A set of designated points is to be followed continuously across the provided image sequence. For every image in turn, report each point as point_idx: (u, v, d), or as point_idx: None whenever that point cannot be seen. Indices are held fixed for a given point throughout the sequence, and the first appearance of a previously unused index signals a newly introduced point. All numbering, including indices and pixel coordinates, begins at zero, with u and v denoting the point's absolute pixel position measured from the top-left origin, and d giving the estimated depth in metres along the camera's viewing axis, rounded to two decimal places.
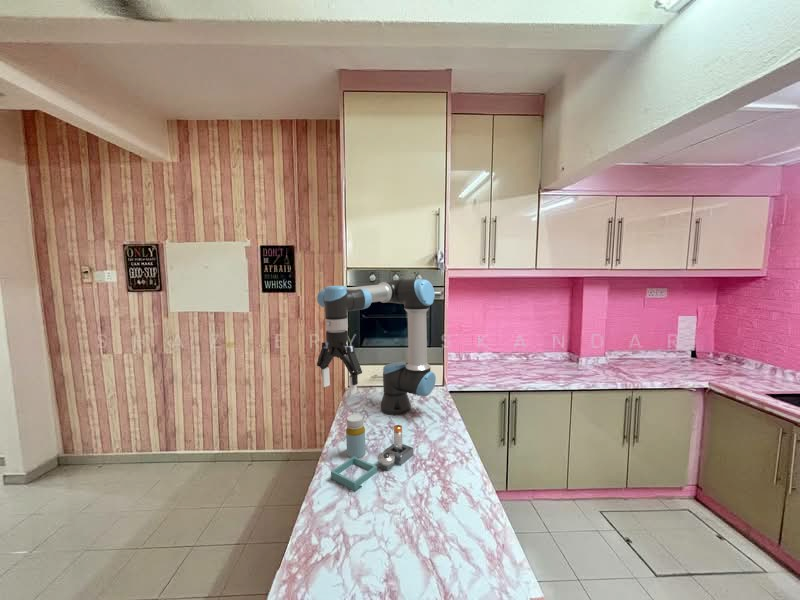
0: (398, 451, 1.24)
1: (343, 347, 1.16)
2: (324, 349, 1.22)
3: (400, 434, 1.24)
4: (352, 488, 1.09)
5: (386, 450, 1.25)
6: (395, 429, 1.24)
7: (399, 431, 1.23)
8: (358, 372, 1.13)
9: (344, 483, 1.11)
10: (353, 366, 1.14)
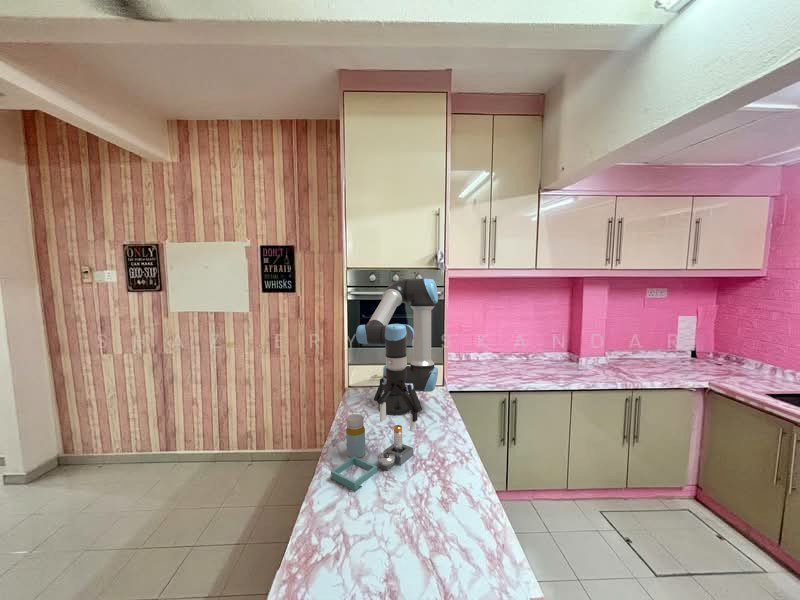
0: (398, 451, 1.24)
1: (403, 384, 1.20)
2: (382, 385, 1.26)
3: (400, 434, 1.24)
4: (352, 488, 1.09)
5: (386, 450, 1.25)
6: (395, 429, 1.24)
7: (399, 431, 1.23)
8: (419, 409, 1.17)
9: (344, 483, 1.11)
10: (414, 404, 1.17)
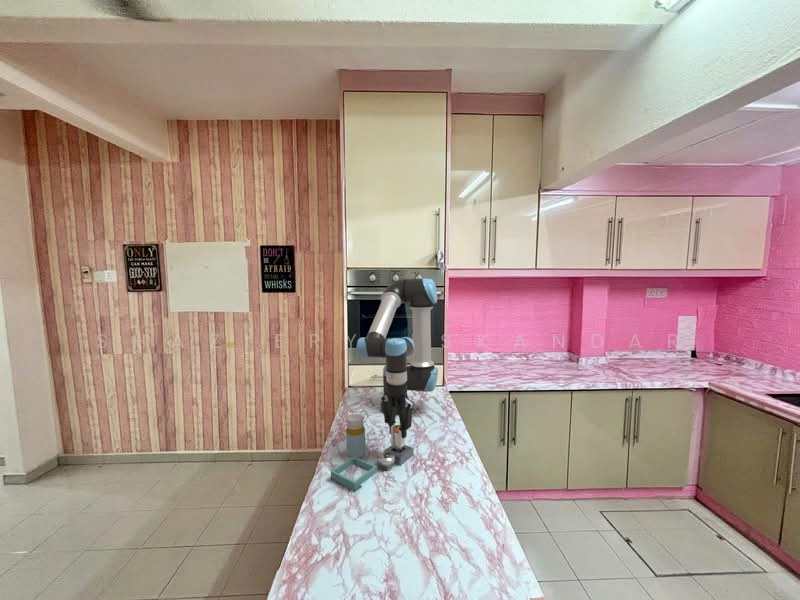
0: (398, 451, 1.24)
1: (404, 400, 1.21)
2: (385, 402, 1.26)
3: None
4: (352, 488, 1.09)
5: (386, 450, 1.25)
6: (395, 429, 1.24)
7: None
8: (408, 427, 1.21)
9: (344, 483, 1.11)
10: (406, 421, 1.20)
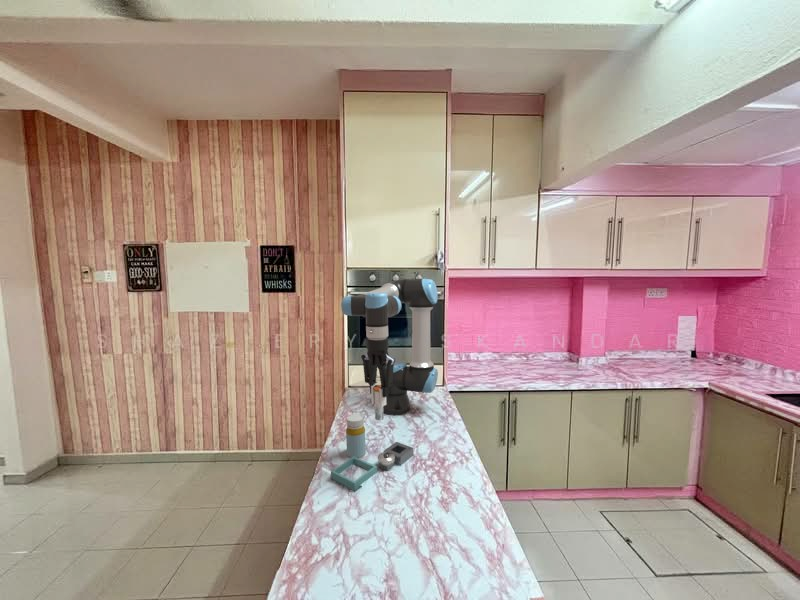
0: (379, 411, 1.18)
1: (385, 356, 1.14)
2: (366, 361, 1.20)
3: None
4: (352, 488, 1.09)
5: (386, 450, 1.25)
6: (376, 388, 1.17)
7: None
8: (389, 384, 1.15)
9: (344, 483, 1.11)
10: (387, 378, 1.14)
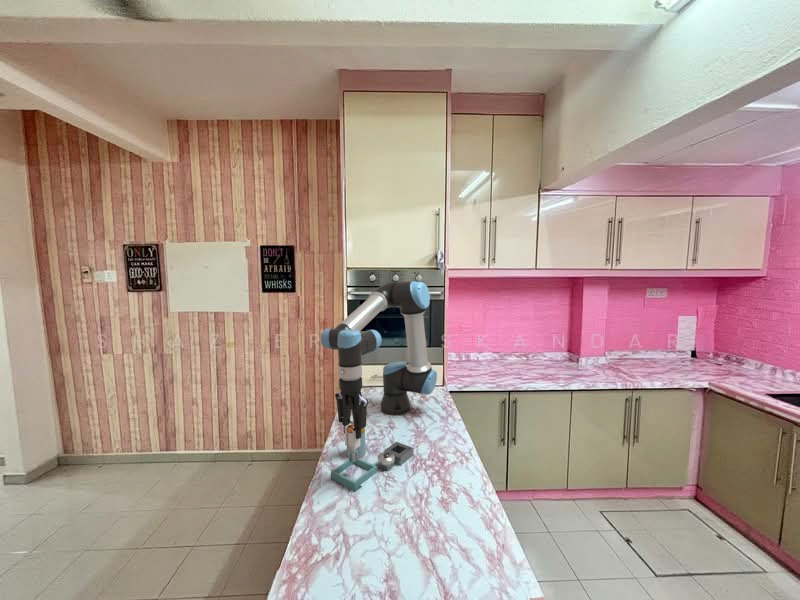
0: (352, 453, 1.13)
1: (357, 397, 1.10)
2: (339, 400, 1.15)
3: None
4: (352, 488, 1.09)
5: (386, 450, 1.25)
6: (349, 429, 1.13)
7: None
8: (362, 426, 1.10)
9: (344, 483, 1.11)
10: (360, 420, 1.10)
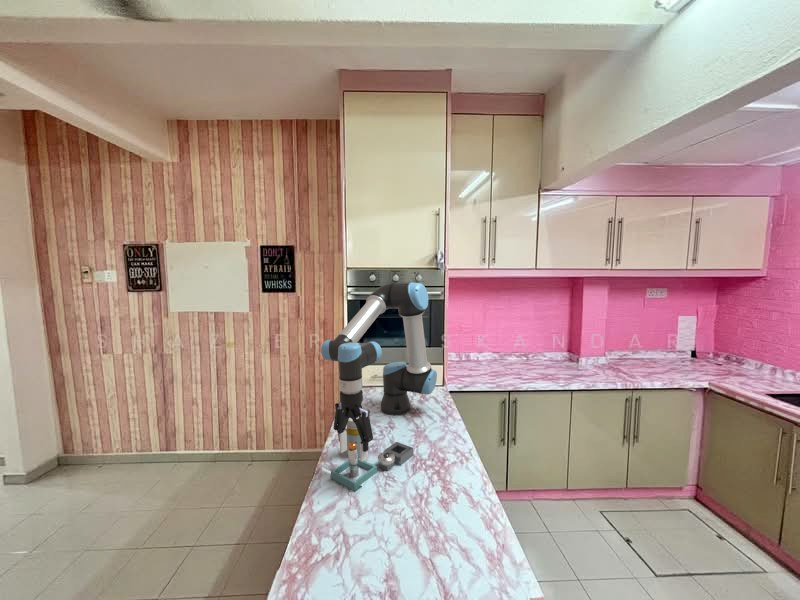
0: (353, 470, 1.14)
1: (358, 410, 1.10)
2: (338, 410, 1.16)
3: (354, 452, 1.13)
4: (352, 488, 1.09)
5: (386, 450, 1.25)
6: (349, 447, 1.13)
7: (353, 449, 1.13)
8: (369, 439, 1.09)
9: (344, 483, 1.11)
10: (365, 433, 1.09)
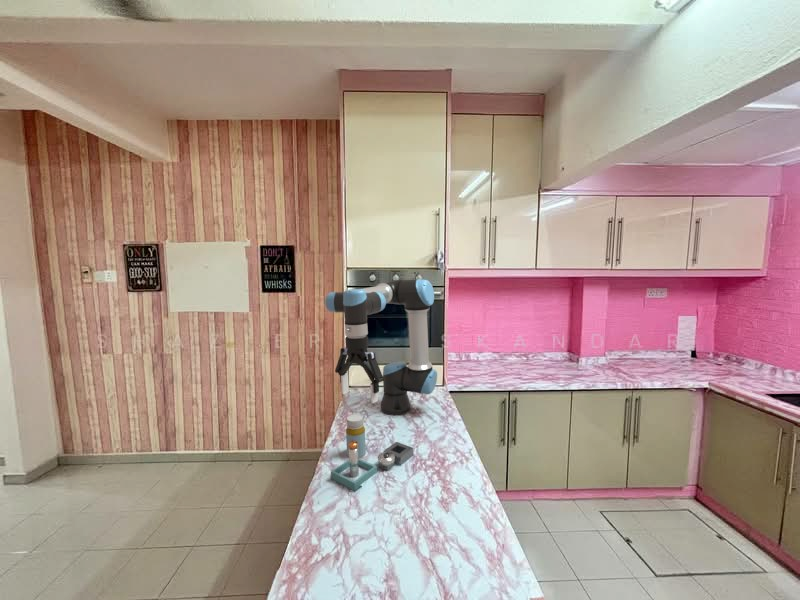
0: (353, 469, 1.14)
1: (363, 353, 1.11)
2: (343, 355, 1.17)
3: (355, 451, 1.14)
4: (352, 488, 1.09)
5: (386, 450, 1.25)
6: (350, 446, 1.14)
7: (354, 448, 1.14)
8: (380, 380, 1.09)
9: (344, 483, 1.11)
10: (374, 373, 1.09)
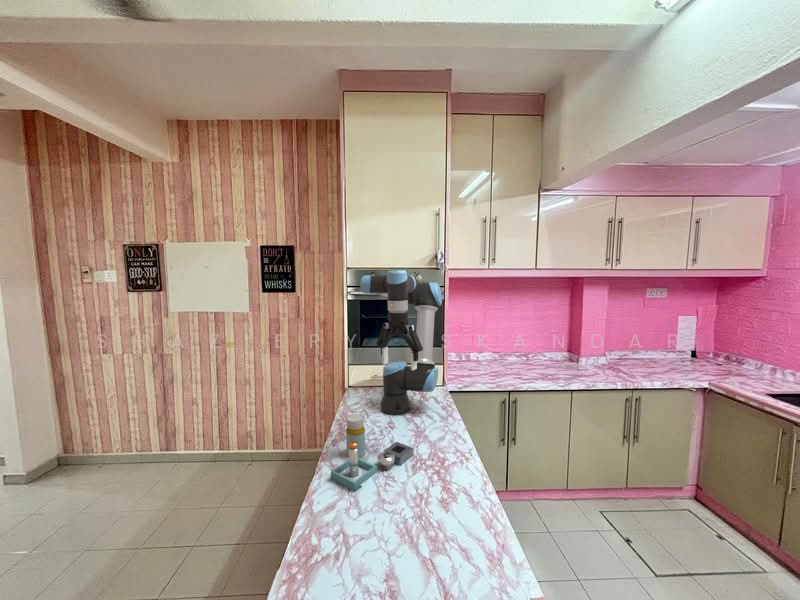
0: (353, 469, 1.14)
1: (405, 326, 1.26)
2: (384, 329, 1.32)
3: (355, 451, 1.14)
4: (352, 488, 1.09)
5: (386, 450, 1.25)
6: (350, 445, 1.14)
7: (354, 448, 1.14)
8: (420, 349, 1.24)
9: (344, 483, 1.11)
10: (415, 343, 1.24)
